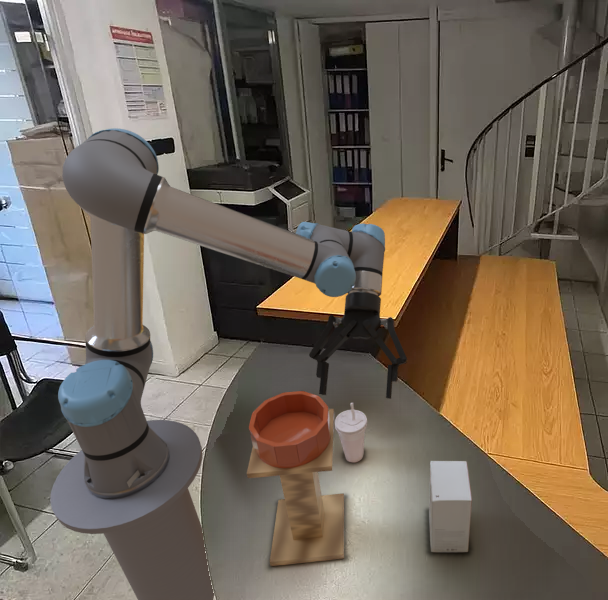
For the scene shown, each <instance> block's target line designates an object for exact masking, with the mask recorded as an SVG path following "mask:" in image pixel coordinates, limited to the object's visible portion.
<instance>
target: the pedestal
mask: <svg viewBox="0 0 608 600" xmlns="http://www.w3.org/2000/svg"><path fill="white" fill-rule="evenodd" d="M328 409H329V416H330V424H331V426H330V431H331V437H330V441H329V444H328V446H327V448H326V449H325V450H324V452H323V453H322V454H321V455H320V456H318V457H317V458H316V459H314V460H313V461H311V462H309V463H307V464H304V465H302V466H298V467H293V468H277V467H273V466H270V465H268V464H266V463H264V462H263V461H262V460H261V459H260V458H259V457H258V456H257V453H256V450H255V448H254V447H253V446H252V448H251V453H250V456H249V461H248V465H247V470H246V476H247V479H257V478H267V477H276V476H279V478H280V483H281V488H282V493H283V498H281V499H278V501H277V507H276V514H275V522H274V528H273V535H272V542H271V548H270V555H269V556H270V557H269V565H270V567H276V566H277V567H278V566H287V565H294V564H296V565H297V564H304V563H313V562H314V563H315V562H323V561H332V560H343V559H345V493H334V494H322V490H321V489H322V488H321V484H320V483H321V482H320V475H319V473H321V472H332V471H333V460H334V433H335V431H334V429H335V409H334V408H328Z"/></svg>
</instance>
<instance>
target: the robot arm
mask: <svg viewBox="0 0 608 600" xmlns="http://www.w3.org/2000/svg"><path fill="white" fill-rule="evenodd" d="M159 170H160V165H159V159H158V156H157V154H156V151H155V150H154V148H153V146H152V145H151V144H150V143H149V142H148V141H147V140H146V139H144V137H142V136H141V135H140V134H138V133H136V132H133V131H131V130H129V129H125V128H118V127H117V128H115V127H114V128H106V129H101V130H99V131H96V132H94V133H92V134H91V135H89V136H88V137H87V139H86V140H84V141H83V142H82V143H80V144H79V145H77V146H76V147H74V148H73V149H72V150H71V151H70V152H69V153H68V155H67V156H66V158H65V160H64V162H63V165H62V173H61V174H62V183H63V185H64V188H65V191H66V192H67V193H68V195H69V197H70V198H71V199H72V200H73V201H74V203H76V204H77V205H78V206H79V207H80V209H81V210H82V211H83V212H85V213H86V214H87V215H89V217H90V239H91V241H90V243H91V275H92V308H93V310H92V311H93V326H92V327H89V329H88V330H87V331H86V333H85V336H84V337H85V338H84V339H85V363H84V364H83V365H80V366H79V367H78V368H76V369H75V371H74V372H70V373H69V374H68V375H67V376H66V377H65V378H64V379H63V381H62V382H61V384H60V385H59V389H58V393H57V400H58V402H59V405H60V411H61V413H62V415H63V417H64V418H65V420H66V421H67V424H68V425H69V427H70V429H71V431H72V433H73V435H74V437H75V438H76V442H77V443H78V445H79V448H80V450H82V451H83V453H84V481H85V484H86V486H87V488H88V490H89V491H90V493H91V494H92V495H94V496H96V497H98V498H101V499H118V498H123V497H127V496H130V495H132V494H135V493H137V492H139V491H141V490H143V489H144V488H146V487H148V486H149V485H150V484H152V483H153V482H154V481H155V480H156V479H158V478H159V476H160V475H161V474H162V473H163V472H164V470H165V469H166V467H167V465H168V462H169V450H168V448H167V445H166V443H165V442H164V440H163V439H162V438H160V437H159V436H158V435H157V434H156V433H155V432H154V431H153V430H152V429H151V428H150V427H149V426H148V423H147V421H148V420H147V418H146V415H145V412H144V410H143V407H142V397H143V394H144V390H145V386H146V383H147V380H148V376H149V372H150V368H151V365H152V363H153V361H154V360H153V359H154V347H153V343H152V341H151V331H150V329H149V328H148V327H147V326H145V325H144V324H143V323H144V321H143V320H144V267H145V266H144V264H145V263H144V262H145V259H144V258H145V235H147V234H150V233H152V232H157V233H160V234H164V235H166V236H170V237H173V238H176V239H179V240H181V241H185V242H187V243H191V244H195V245H198V246H199V247H204V248H206V249H209V250H212V251H215V252H218V253H222V254H225V255H228V256H230V257H234V258H237V259H240V260H243V261H246V262H249V263H251V264H255V265H259V266H261V267H264V268H267V269H270V270H273V271H277V272H279V273H283V274H286V275H289V276H292V277H295V278H297V279H300V280H304V281H307V282H310V283H313V284H315V286H316V289H318V290H319V292H320V293H322V294H323V295H325V296H326V297H329V298H338V297H342V296H345V301H344V313H343V316H342V317H338V316H334V315H333V314H330V315H328V318H327V323H326V326H325V327H324V329H323V331H322V332H321V334H320V336H319V337H318V339H317V341H316V342H315V344H314V345H313V347H312V348H311V350H310V352H309V355H308V356H309V357H310V358H311V359H312V360H315V361H316V373H315V374H316V378H318V379H320V380H319V381H320V382H319V391H318V394H319V395H322V396H327V389H328V378H329V369H330V368H329V367H330V363H329V362H328V360H329V358H331V356H332V355H334V353H335V352H337V351H338V349H339V348H340V347H341V346H343V344H344V343H345V342H346V341H348V340H349V339H350V338H352V339H353V340H359V339H362V340H369V339H371V338H372V339H373V340H374V341H375V343H376V344H377V345H378V347H379V348H380V349H381V351H382V352H383V353H384V355H385V356H386V357H387V359H388V360H389V361H390V363H391V364H388V365H387V376H386V391H385V392H386V393H385V398H386V399H392V394H393V392H392V391H393V382H394V383H397V382H398V380H399V368H400V366H401V365H405V364H407V363H408V358H407V357H408V356H407V355H406V353H405V350H404V348H403V345H402V344H401V341H400V339H399V337H398V334H397V332H396V329H395V320H394V318H393V317H392V316H391V317H388V318H381V303H382V298H381V297H380V296H382V289H383V275H384V274H383V271H384V261H385V251H386V234H385V231H384V230H383V228H382V227H381V226H378V225H376V224H373V223H358V224H356V225H354V226H353V227H352V229H351V231H349V230H345V229H340V228H336V227H332V226H329V225H324V224H320V223H318V222H316V223H314V222H310V221H302V222H300V223H299V224H298V226H297V228H296V230H295V232H294V231H290V230H287V229H285V228H283V227H280V226H277V225H274V224H272V223H269V222H266V221H263V220H261V219H258V218H256V217H254V216H253V217H252V216H250V215H248V214H244V213H242V212H240V211H238V210H237V211H236V210H235V209H232V208H229V207H227V206H224V205H221V204H218V203H215V202H213V201H211V200H207V199H205V198H202V197H200V196H197V195H194V194H192V193H189V192H187V191H184V190H181V189H179V188H176V187H173V186H171V185H170V184H169V182H168V180H167V179H166V177H164V176H162V175H159ZM340 324H341V325H342V327H343V329H342V330H341V331H340V332H339V334H338V335H337V336H336V337H335V338H334V339H333V340H332V342H331V343H329V344H328V341H329V340H330V338H331V336H332V335H333V333H334V332H335V329H336V328H338V327H339V325H340ZM382 326H383V327H384V329H385V330H387V331H388V333H389V336H390V338H391V340H392V343H393V345H394V347H395V350H396V352H397V354H398V356H399V357H397V358H396V356H395V355H394V354H393V352H392V351H391V350H390V349H389V347H388V346H387V344H386V343H385V342H384V341H383V339H382V337H381V336H380V335H379V334H378V332H377V331H378V330H379V329H380V328H381V327H382ZM327 344H328V346H327V347H326V345H327ZM325 347H326V348H325ZM324 348H325V349H324Z"/></svg>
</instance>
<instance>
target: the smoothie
mask: <svg viewBox="0 0 608 600" xmlns="http://www.w3.org/2000/svg"><path fill="white" fill-rule="evenodd" d="M367 427H368V418H367V415H366V414H365V413H364V412H363V411H361V410H359V409H355V407H354V402H350V409H347V410H344V411H341V412H340V413H339V414H337V415H336V417H335V418H334V429H335V431H336V432H337V434H338V438H339V440H340V445H341V447H342V451H343V454H344V458H345V460H346V461H347V462H349V463H358V462H360V461H361V460H362V459H363V458H364V451H365V439H366V428H367Z"/></svg>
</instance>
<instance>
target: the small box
mask: <svg viewBox="0 0 608 600" xmlns="http://www.w3.org/2000/svg"><path fill="white" fill-rule="evenodd" d="M469 473H470V472H469V467H468V461H467V460H430V462H429V497H428V498H429V501H428V522H429V523H428V524H429V541H430V543H429V544H430V553H468V552H469V545H470V531H471V530H470V529H471V519H472V518H471V517H472V504H473V497H472V488H471V481H470V474H469Z"/></svg>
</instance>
